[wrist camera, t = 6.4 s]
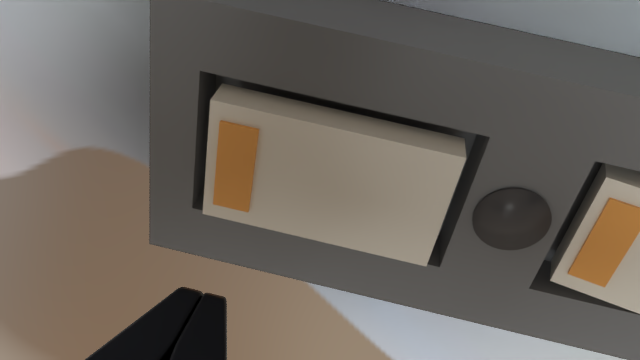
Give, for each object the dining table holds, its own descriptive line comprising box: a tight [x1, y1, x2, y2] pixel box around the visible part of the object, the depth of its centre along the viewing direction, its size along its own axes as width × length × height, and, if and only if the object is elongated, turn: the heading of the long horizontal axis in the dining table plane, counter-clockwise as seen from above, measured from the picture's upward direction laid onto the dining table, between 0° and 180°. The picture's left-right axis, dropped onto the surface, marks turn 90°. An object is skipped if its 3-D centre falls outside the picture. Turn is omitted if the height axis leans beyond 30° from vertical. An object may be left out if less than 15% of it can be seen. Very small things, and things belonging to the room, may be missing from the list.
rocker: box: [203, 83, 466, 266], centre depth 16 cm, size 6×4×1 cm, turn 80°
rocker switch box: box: [149, 0, 640, 360], centre depth 17 cm, size 20×8×3 cm, turn 80°
